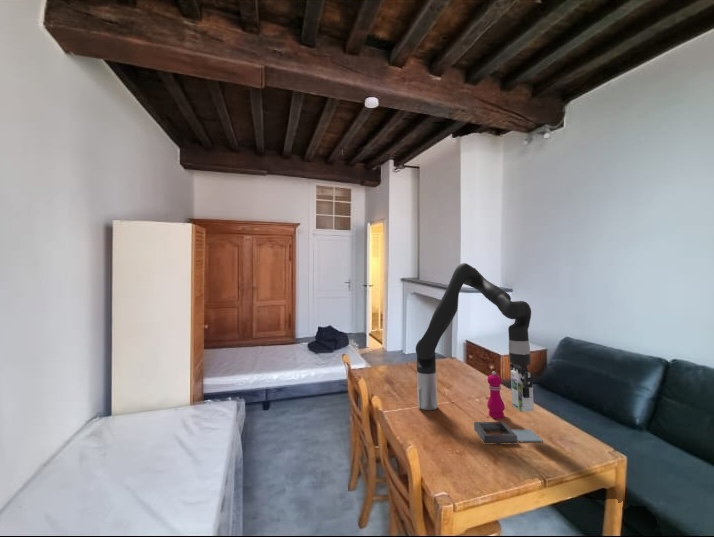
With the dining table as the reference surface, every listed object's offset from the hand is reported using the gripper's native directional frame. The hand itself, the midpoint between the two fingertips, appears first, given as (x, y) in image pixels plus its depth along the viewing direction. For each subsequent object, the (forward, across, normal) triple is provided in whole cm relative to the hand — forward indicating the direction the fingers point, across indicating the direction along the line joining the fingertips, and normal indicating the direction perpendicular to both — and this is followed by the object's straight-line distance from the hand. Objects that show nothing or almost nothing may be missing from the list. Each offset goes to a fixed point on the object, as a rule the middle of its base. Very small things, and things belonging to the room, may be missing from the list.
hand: (522, 394), depth 120 cm
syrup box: (+6, 0, 0) cm, 6 cm away
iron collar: (+16, 0, -12) cm, 20 cm away
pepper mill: (+16, -19, -4) cm, 25 cm away
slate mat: (+16, 0, 0) cm, 16 cm away
